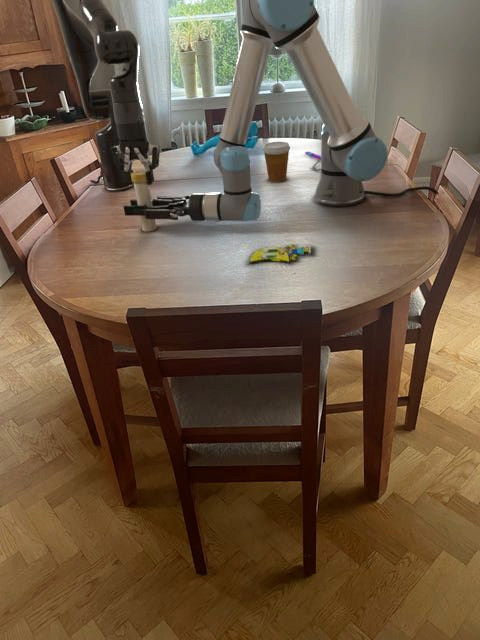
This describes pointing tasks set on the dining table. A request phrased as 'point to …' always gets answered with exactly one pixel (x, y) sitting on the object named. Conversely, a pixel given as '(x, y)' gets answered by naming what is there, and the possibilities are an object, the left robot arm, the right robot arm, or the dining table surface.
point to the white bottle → (144, 198)
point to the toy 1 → (215, 140)
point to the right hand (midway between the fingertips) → (128, 207)
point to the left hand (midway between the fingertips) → (141, 183)
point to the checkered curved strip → (315, 157)
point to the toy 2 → (278, 254)
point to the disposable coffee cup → (276, 160)
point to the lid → (138, 176)
